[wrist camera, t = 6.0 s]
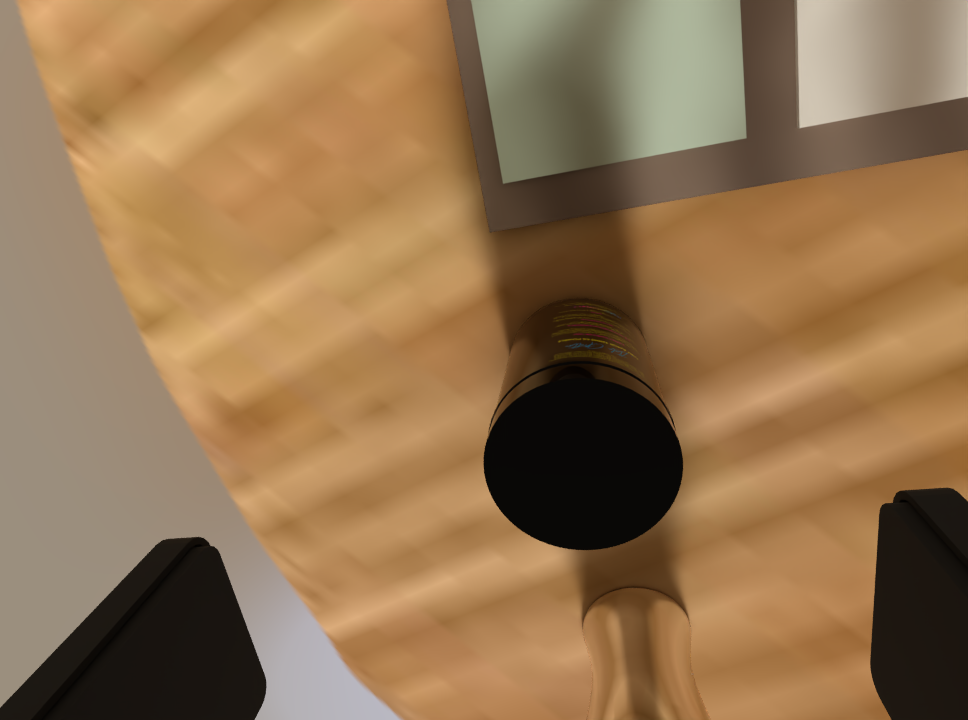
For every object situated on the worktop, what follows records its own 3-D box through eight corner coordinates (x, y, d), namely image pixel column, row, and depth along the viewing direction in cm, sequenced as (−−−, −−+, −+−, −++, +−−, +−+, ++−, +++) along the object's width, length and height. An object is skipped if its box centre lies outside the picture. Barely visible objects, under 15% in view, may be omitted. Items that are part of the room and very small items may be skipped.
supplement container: (498, 303, 30) (464, 391, 21) (640, 281, 29) (674, 364, 20) (522, 427, 33) (501, 558, 23) (655, 412, 31) (692, 543, 22)
